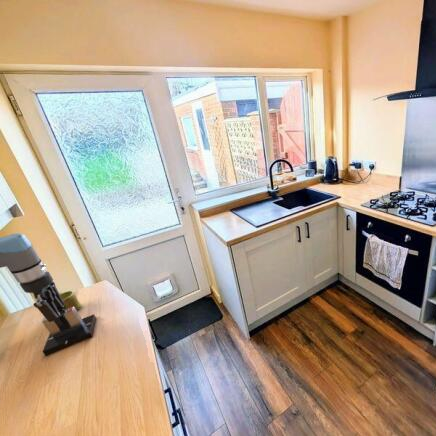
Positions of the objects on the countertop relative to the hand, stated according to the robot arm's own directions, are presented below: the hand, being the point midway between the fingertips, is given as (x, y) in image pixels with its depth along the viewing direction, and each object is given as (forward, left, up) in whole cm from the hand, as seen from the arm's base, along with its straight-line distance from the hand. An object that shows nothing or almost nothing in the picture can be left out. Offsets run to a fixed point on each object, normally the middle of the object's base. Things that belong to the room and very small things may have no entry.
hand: (67, 326), depth 93 cm
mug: (-5, +20, -5) cm, 21 cm away
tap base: (0, 0, -5) cm, 5 cm away
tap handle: (0, 0, -2) cm, 2 cm away
